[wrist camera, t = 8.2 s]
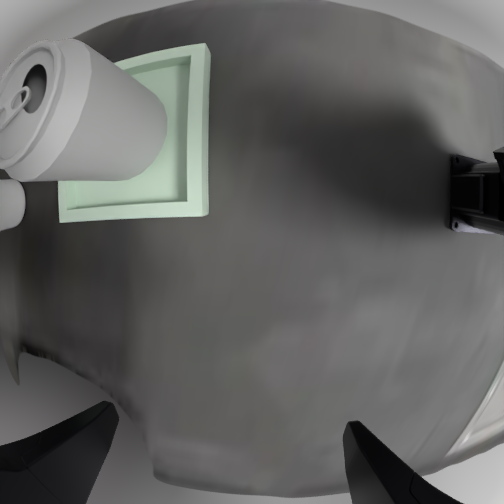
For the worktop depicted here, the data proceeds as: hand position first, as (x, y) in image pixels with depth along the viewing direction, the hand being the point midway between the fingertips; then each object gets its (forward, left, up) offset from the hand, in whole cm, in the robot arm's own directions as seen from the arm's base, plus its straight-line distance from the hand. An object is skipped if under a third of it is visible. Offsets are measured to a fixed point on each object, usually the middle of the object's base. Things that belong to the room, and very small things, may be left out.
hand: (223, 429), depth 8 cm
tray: (+9, -13, -13) cm, 21 cm away
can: (+9, -13, -13) cm, 20 cm away
